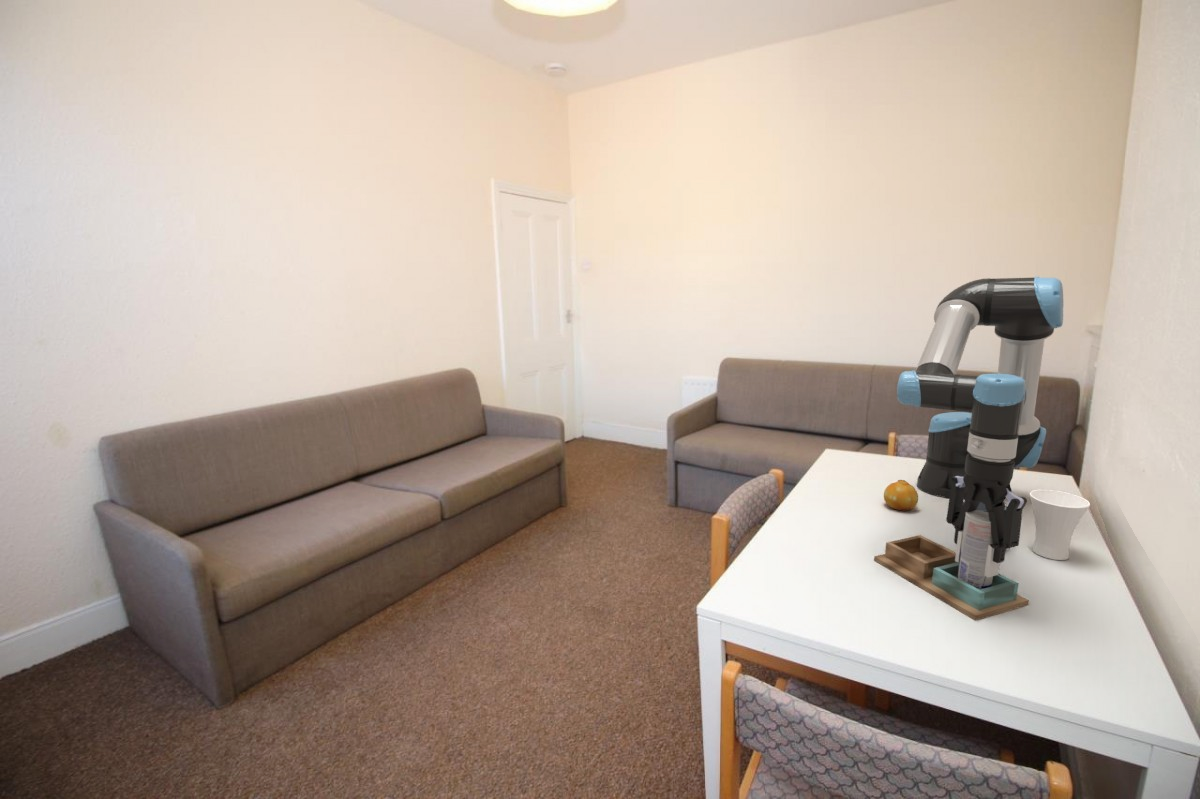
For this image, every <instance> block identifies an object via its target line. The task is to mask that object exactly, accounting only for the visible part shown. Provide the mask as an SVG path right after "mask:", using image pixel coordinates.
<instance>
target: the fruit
mask: <svg viewBox="0 0 1200 799" xmlns="http://www.w3.org/2000/svg"><path fill="white" fill-rule="evenodd" d="M883 500H884V502H885V503H886V504H887V506H888V507H890V508H891V509H894V510H897V511H904V512H905V511H910V510H912V509H914V508H915V507H916V506H917V504H918V502H919V493H918V491H917V490H916V488H915V486H913V485H912V484H910V483H909V482H908V481H906V480H904V479H898V480H897V481H896V482H892V483H890V484H889V485H887V486H886V487H885V489H884V492H883Z"/></svg>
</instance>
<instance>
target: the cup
mask: <svg viewBox="0 0 1200 799" xmlns="http://www.w3.org/2000/svg"><path fill="white" fill-rule="evenodd" d="M1028 494H1029V498H1030V502H1031V507H1032V510H1033V515H1034V520H1035V523H1034V524H1035V537H1034V538H1035V539H1034V542H1033V545H1032V548H1031V550H1032V552H1034V553H1035V554H1037V555H1039V556H1040V557H1043V558H1047V559H1050V560H1056V561H1065V560H1068V559H1069V557H1070V544H1071V541H1072V538H1073V535H1074V533H1075V530H1076V528H1077V526H1078V524H1079V523H1080V521H1081V520H1082V518H1083V516H1084V515H1085V514H1086V512H1087V511H1088V509H1089V507H1090V506H1091V503H1090V502H1089V500H1087V499H1086V498H1084V497H1081V496H1079V495H1076V494H1073V493H1069V492H1065V491H1061V490H1054V489H1033V490H1032V491H1029V493H1028Z"/></svg>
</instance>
